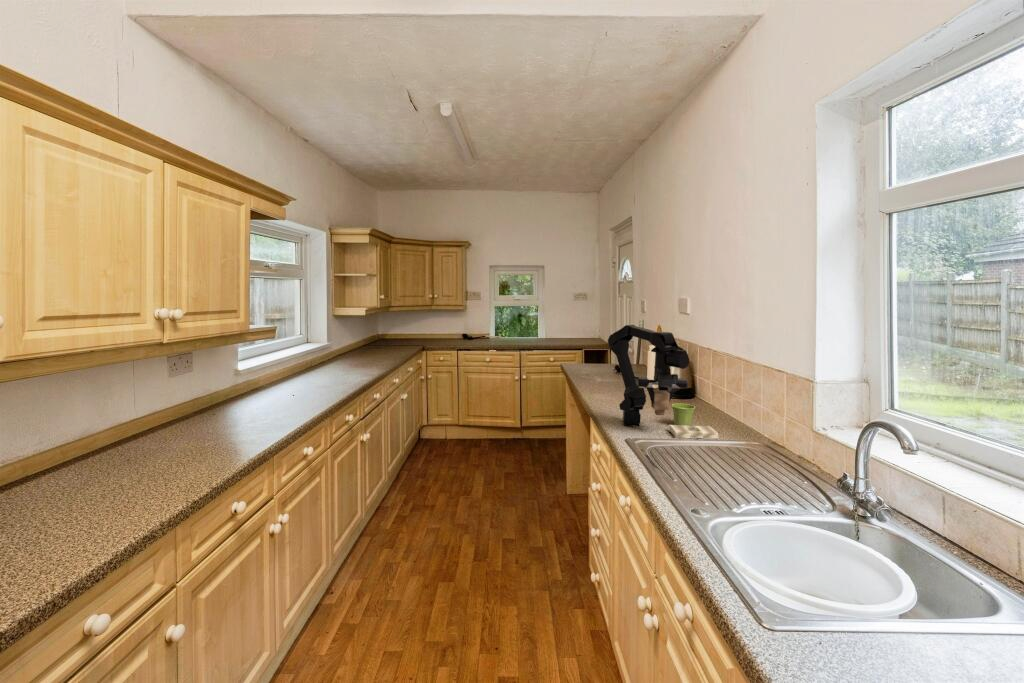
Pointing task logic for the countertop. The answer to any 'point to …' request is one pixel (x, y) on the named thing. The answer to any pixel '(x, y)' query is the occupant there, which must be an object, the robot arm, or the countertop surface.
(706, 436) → the birch board
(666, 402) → the walnut peg
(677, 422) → the plant pot
